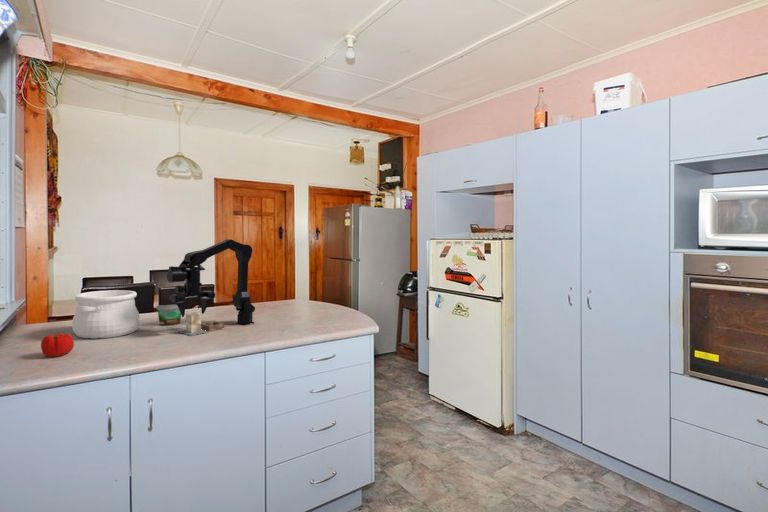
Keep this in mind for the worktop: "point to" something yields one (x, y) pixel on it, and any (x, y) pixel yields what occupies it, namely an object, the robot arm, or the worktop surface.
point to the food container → (168, 315)
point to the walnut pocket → (212, 326)
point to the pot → (105, 314)
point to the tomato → (57, 344)
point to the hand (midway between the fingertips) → (193, 315)
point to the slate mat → (193, 333)
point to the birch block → (193, 322)
